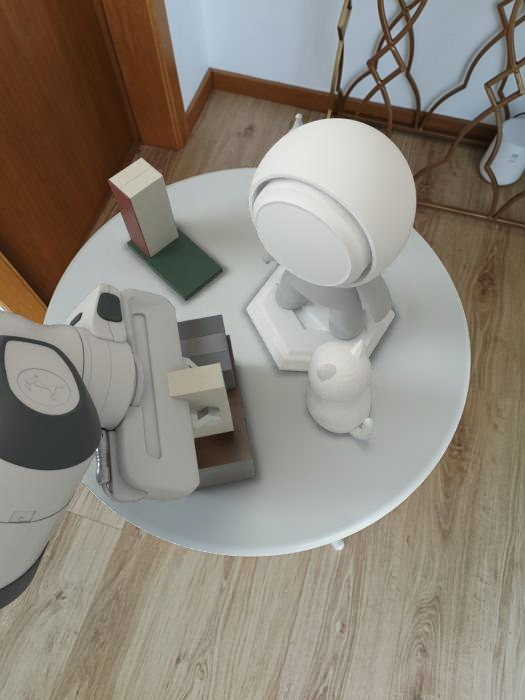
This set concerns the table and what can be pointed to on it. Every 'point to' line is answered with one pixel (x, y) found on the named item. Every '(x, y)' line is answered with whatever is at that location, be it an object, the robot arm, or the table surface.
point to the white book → (203, 394)
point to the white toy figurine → (328, 237)
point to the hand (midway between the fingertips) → (213, 399)
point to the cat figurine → (341, 388)
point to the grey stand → (234, 446)
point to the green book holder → (159, 230)
